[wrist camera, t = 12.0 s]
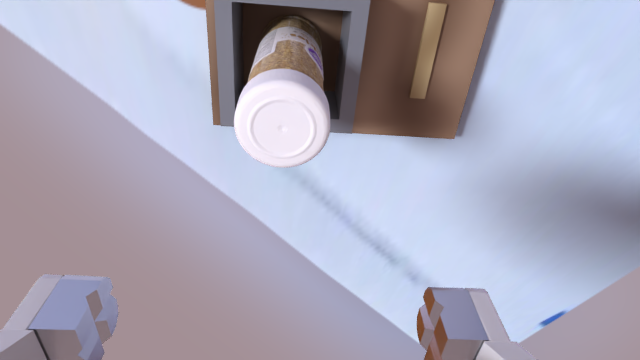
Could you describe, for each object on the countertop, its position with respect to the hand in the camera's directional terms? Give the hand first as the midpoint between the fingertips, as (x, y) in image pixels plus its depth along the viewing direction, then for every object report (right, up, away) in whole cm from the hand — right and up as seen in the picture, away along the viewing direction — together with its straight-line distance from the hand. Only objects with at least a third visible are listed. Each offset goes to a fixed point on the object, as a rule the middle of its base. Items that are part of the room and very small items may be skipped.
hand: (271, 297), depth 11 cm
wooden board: (+3, +14, +21) cm, 25 cm away
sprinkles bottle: (-1, +13, +20) cm, 24 cm away
